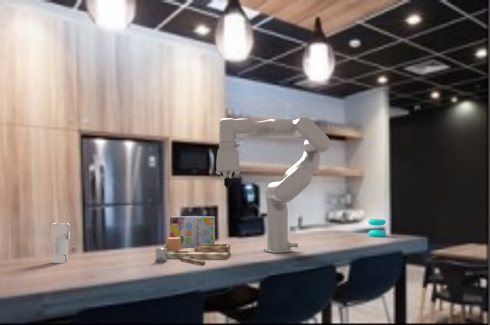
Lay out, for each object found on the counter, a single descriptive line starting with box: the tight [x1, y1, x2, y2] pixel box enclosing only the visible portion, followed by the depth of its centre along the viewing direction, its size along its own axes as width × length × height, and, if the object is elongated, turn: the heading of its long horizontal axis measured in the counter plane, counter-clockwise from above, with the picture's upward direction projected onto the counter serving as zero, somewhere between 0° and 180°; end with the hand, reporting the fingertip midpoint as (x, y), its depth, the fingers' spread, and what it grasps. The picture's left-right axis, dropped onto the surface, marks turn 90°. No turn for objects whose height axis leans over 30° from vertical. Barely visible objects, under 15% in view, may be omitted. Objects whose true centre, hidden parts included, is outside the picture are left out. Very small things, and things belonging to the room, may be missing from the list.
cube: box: [166, 236, 181, 251], centre depth 182 cm, size 5×5×5 cm
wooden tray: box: [159, 243, 231, 260], centre depth 179 cm, size 28×16×4 cm, turn 86°
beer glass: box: [50, 222, 71, 265], centre depth 164 cm, size 7×7×15 cm
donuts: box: [367, 218, 387, 238], centre depth 248 cm, size 10×10×10 cm
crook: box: [180, 256, 206, 266], centre depth 164 cm, size 14×5×2 cm, turn 44°
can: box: [155, 247, 168, 263], centre depth 166 cm, size 4×4×5 cm
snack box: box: [169, 215, 216, 248], centre depth 202 cm, size 21×6×15 cm, turn 84°
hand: (227, 187), depth 186 cm, fingers closed
